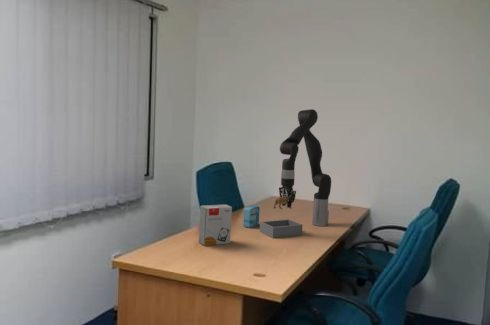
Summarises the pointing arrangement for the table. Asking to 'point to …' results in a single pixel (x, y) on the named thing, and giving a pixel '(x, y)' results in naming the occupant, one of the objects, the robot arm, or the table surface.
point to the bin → (280, 228)
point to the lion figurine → (282, 201)
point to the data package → (251, 216)
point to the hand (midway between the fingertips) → (286, 206)
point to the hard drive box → (215, 224)
